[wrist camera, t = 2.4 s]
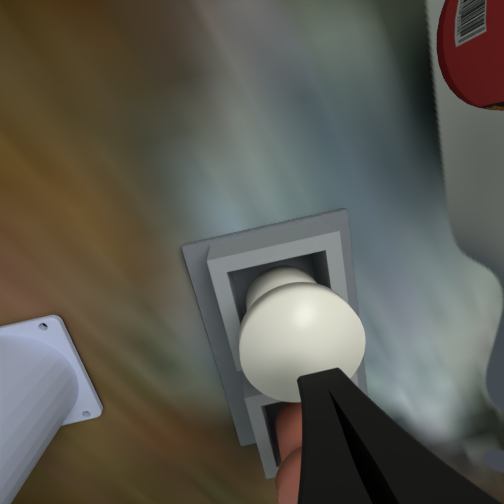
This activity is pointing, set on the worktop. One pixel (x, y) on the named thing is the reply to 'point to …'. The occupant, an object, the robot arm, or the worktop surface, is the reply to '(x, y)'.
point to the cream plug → (296, 332)
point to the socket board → (234, 308)
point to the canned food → (473, 51)
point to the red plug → (289, 451)
